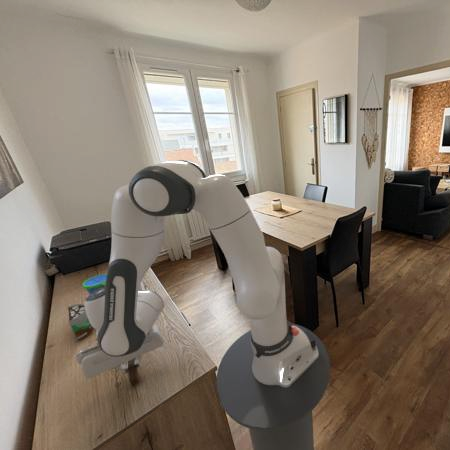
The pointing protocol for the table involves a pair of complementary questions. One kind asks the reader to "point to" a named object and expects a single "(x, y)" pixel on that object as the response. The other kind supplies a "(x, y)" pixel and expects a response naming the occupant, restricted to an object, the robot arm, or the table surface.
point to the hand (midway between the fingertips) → (133, 368)
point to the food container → (79, 321)
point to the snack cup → (95, 283)
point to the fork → (133, 372)
